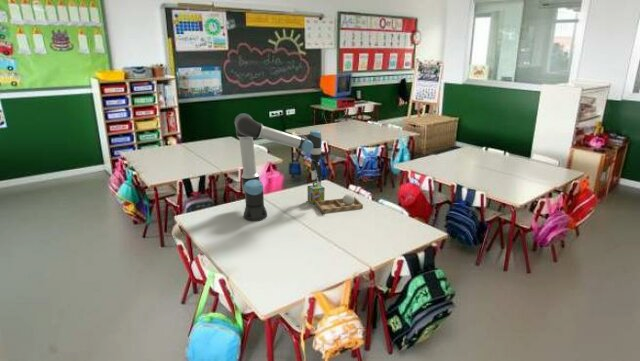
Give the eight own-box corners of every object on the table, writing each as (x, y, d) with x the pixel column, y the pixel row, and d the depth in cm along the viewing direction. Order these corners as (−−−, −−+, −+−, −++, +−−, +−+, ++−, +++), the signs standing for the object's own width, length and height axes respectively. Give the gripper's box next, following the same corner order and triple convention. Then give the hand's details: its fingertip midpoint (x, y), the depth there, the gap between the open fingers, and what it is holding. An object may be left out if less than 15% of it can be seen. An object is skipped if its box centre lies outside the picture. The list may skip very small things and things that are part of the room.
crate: (321, 214, 270) (321, 209, 269) (315, 206, 283) (315, 201, 282) (362, 209, 278) (362, 204, 276) (354, 201, 291) (354, 196, 290)
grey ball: (345, 208, 277) (345, 197, 275) (341, 203, 285) (341, 193, 282) (356, 206, 280) (356, 195, 277) (351, 202, 287) (352, 191, 284)
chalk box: (313, 205, 285) (313, 185, 280) (307, 201, 292) (306, 181, 287) (324, 202, 289) (325, 182, 285) (317, 198, 297) (317, 179, 292)
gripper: (326, 157, 269) (326, 187, 276) (315, 148, 291) (316, 176, 298) (315, 158, 267) (316, 189, 274) (305, 149, 289) (306, 177, 296)
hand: (316, 182), depth 286 cm, fingers open, 13 cm apart
